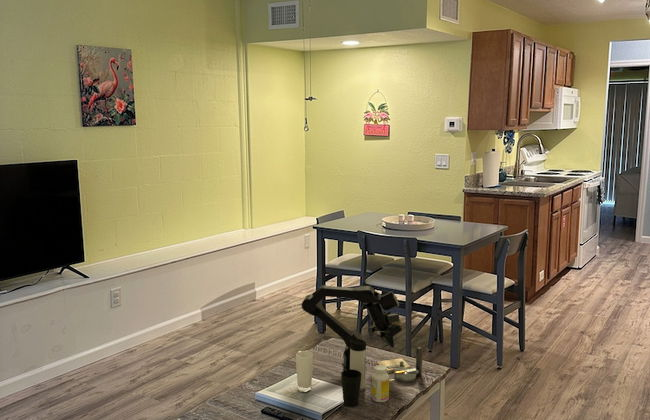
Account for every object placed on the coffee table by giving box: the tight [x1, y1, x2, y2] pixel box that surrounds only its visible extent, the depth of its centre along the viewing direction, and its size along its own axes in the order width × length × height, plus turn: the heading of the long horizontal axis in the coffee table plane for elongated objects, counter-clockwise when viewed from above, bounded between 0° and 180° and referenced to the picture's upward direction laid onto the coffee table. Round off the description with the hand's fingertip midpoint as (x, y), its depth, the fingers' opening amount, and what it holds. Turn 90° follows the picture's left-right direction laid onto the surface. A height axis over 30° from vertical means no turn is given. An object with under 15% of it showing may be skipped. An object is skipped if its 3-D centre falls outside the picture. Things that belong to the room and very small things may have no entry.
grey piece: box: [393, 346, 424, 384], centre depth 245 cm, size 12×9×12 cm
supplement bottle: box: [370, 364, 390, 403], centre depth 227 cm, size 7×7×13 cm
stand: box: [376, 357, 412, 374], centre depth 256 cm, size 12×9×3 cm
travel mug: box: [350, 339, 367, 392], centre depth 235 cm, size 6×7×20 cm
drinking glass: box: [295, 350, 314, 388], centre depth 234 cm, size 7×7×15 cm
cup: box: [340, 369, 362, 408], centre depth 223 cm, size 8×8×12 cm
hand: (392, 347), depth 252 cm, fingers closed
